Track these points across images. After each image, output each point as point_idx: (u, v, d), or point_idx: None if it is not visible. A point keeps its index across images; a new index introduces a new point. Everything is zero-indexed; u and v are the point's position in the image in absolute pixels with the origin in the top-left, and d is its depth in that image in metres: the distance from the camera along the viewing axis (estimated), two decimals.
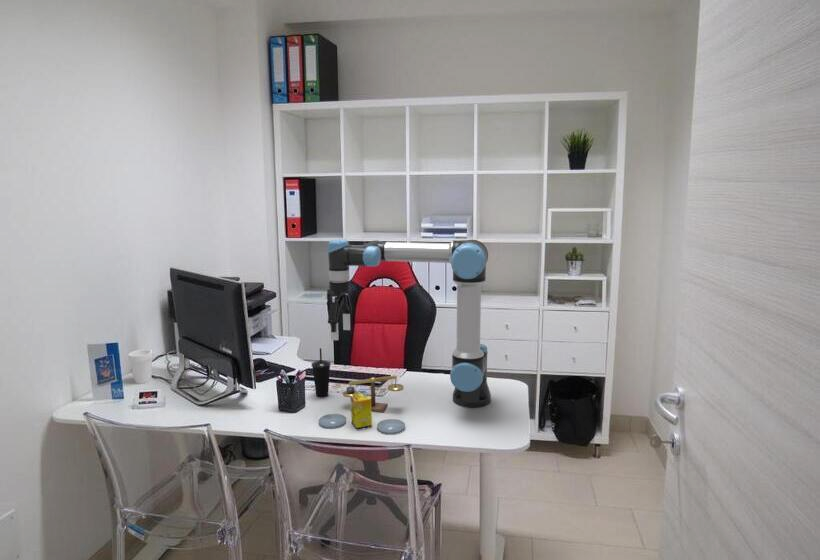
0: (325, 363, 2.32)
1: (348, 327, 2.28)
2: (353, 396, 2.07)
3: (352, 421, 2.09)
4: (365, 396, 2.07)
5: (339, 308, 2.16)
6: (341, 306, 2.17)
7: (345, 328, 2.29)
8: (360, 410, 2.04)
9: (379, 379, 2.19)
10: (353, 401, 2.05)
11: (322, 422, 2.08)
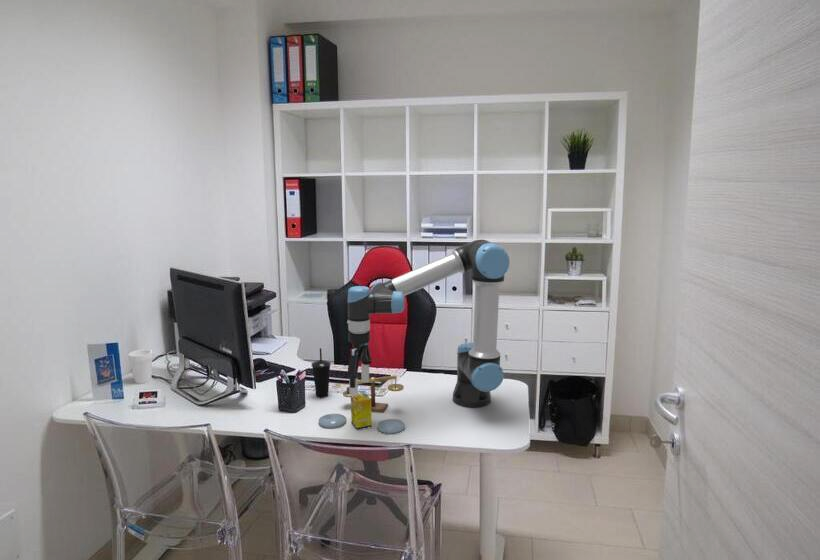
0: (325, 363, 2.32)
1: (367, 378, 2.11)
2: (353, 396, 2.07)
3: (352, 421, 2.09)
4: (365, 396, 2.07)
5: (359, 361, 1.99)
6: (361, 359, 2.00)
7: (363, 380, 2.12)
8: (360, 410, 2.04)
9: (379, 379, 2.19)
10: (353, 401, 2.05)
11: (322, 422, 2.08)
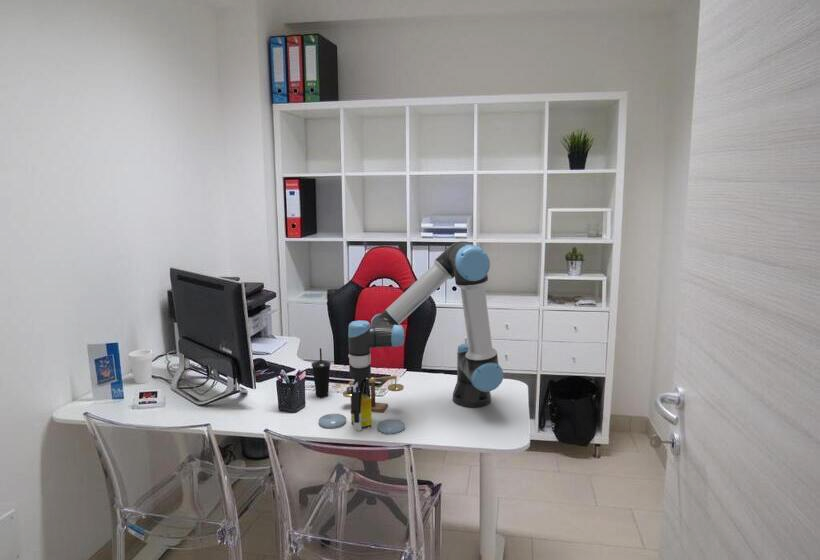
0: (325, 363, 2.32)
1: None
2: None
3: (352, 421, 2.09)
4: (365, 395, 2.07)
5: (361, 395, 2.03)
6: (363, 393, 2.03)
7: None
8: (360, 410, 2.04)
9: (379, 379, 2.19)
10: None
11: (322, 422, 2.08)
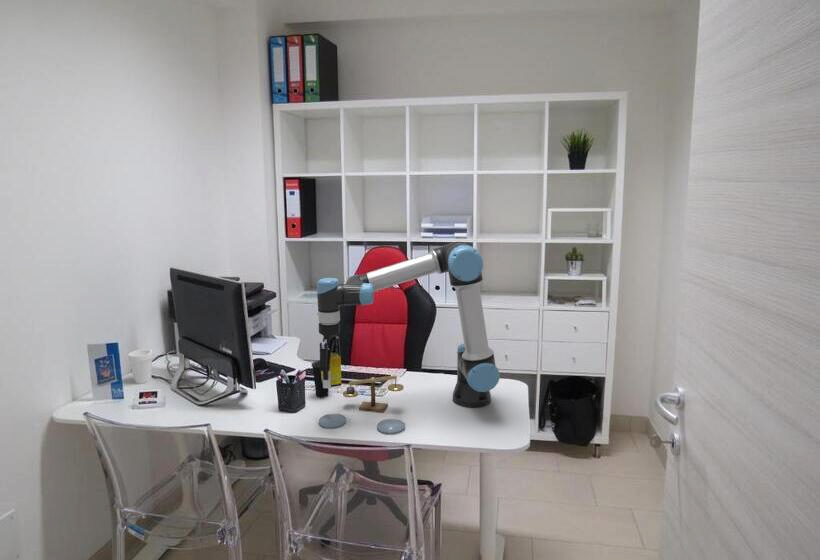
0: None
1: None
2: None
3: (322, 380, 2.08)
4: (334, 354, 2.07)
5: (330, 353, 2.02)
6: (332, 350, 2.03)
7: None
8: (329, 368, 2.03)
9: (379, 379, 2.19)
10: None
11: (322, 422, 2.08)
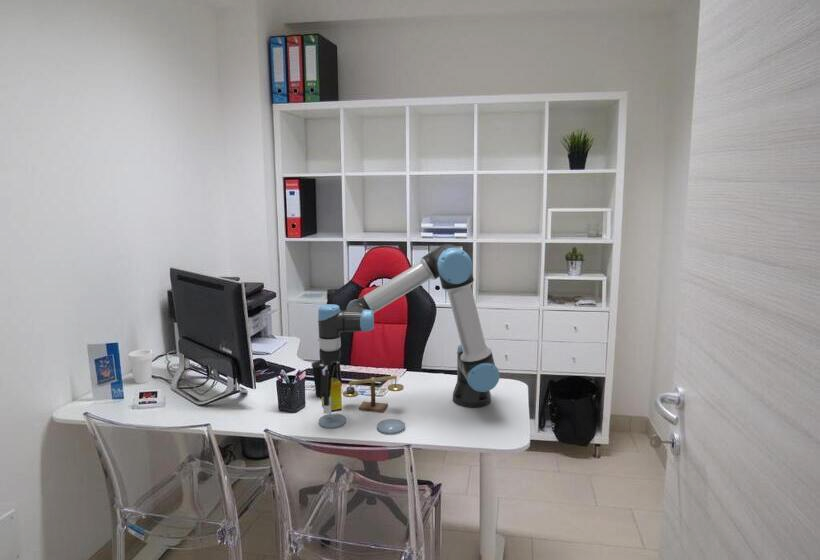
0: None
1: None
2: None
3: (322, 404, 2.10)
4: (335, 379, 2.09)
5: (331, 379, 2.04)
6: (333, 376, 2.05)
7: None
8: (330, 393, 2.05)
9: (379, 379, 2.19)
10: None
11: (322, 422, 2.08)
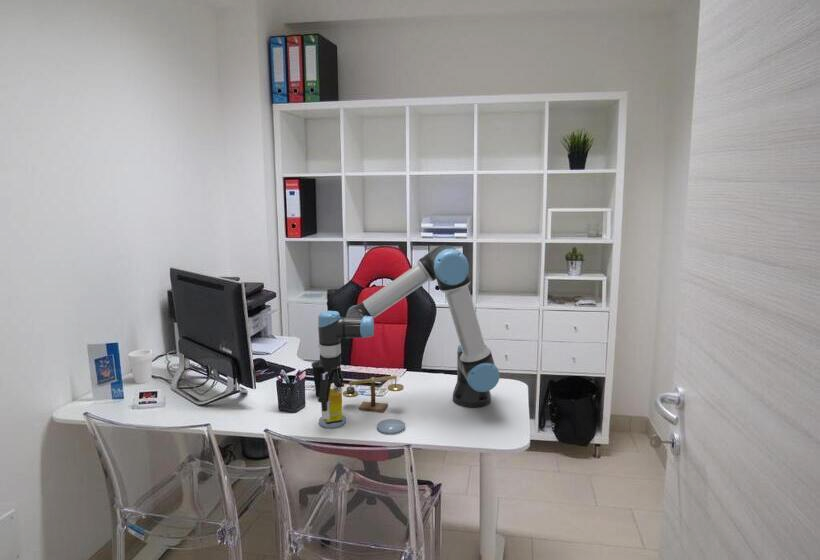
0: None
1: None
2: None
3: None
4: (335, 390, 2.09)
5: (330, 384, 2.04)
6: (332, 382, 2.04)
7: None
8: (330, 405, 2.06)
9: (379, 379, 2.19)
10: None
11: (322, 422, 2.08)
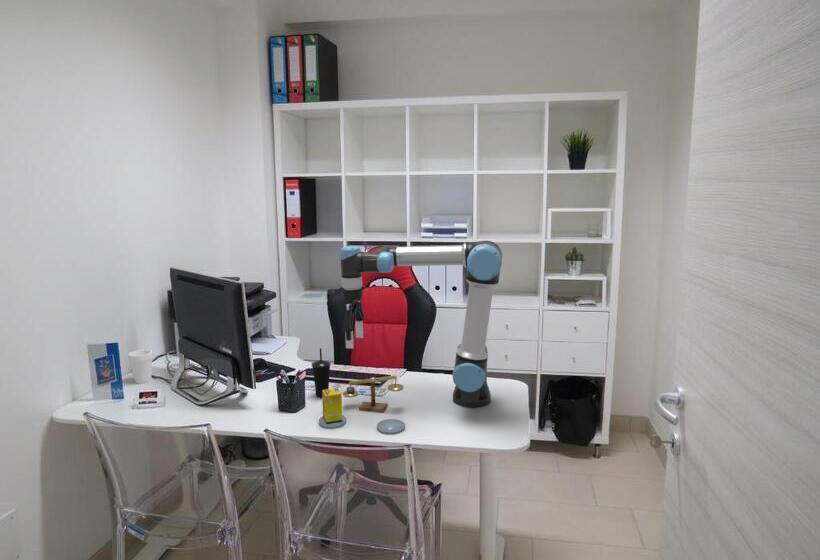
0: (325, 363, 2.32)
1: (361, 334, 2.26)
2: (324, 391, 2.09)
3: (323, 415, 2.11)
4: (335, 390, 2.09)
5: (353, 316, 2.14)
6: (355, 314, 2.14)
7: (358, 336, 2.26)
8: (330, 405, 2.06)
9: (379, 379, 2.19)
10: (323, 396, 2.07)
11: (322, 422, 2.08)
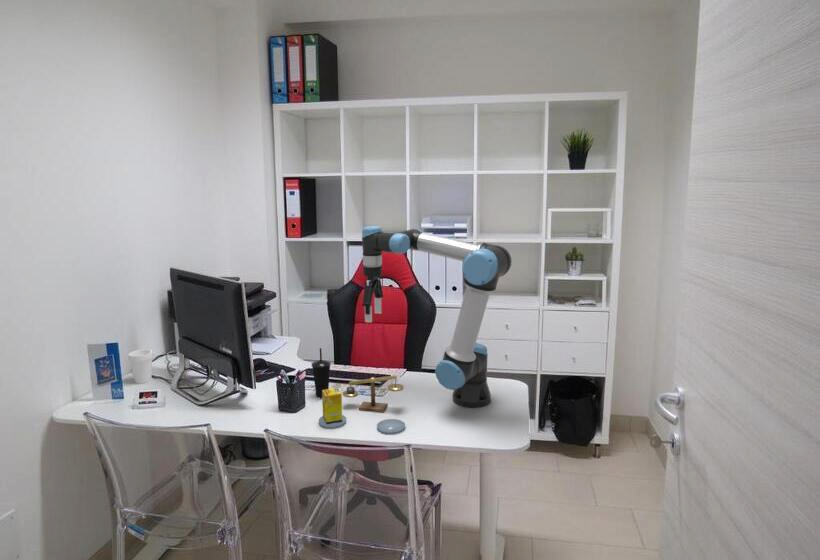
0: (325, 363, 2.32)
1: (379, 310, 2.39)
2: (324, 391, 2.09)
3: (323, 415, 2.11)
4: (335, 390, 2.09)
5: (372, 292, 2.26)
6: (374, 290, 2.27)
7: (376, 312, 2.39)
8: (330, 405, 2.06)
9: (379, 379, 2.19)
10: (323, 396, 2.07)
11: (322, 422, 2.08)
